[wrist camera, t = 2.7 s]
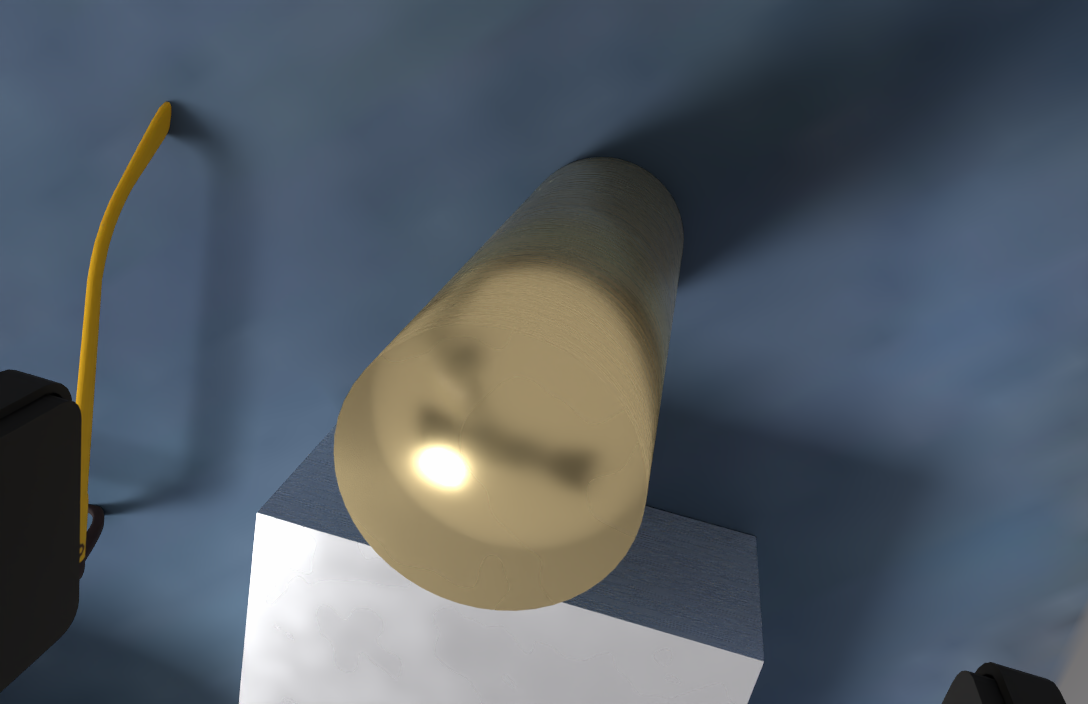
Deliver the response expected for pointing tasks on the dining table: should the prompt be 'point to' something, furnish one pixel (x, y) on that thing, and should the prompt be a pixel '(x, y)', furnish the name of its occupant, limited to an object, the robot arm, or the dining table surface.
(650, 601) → the gray notched block
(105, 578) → the dining table surface
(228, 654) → the dining table surface
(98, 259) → the eyeglasses
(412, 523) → the brass pin
